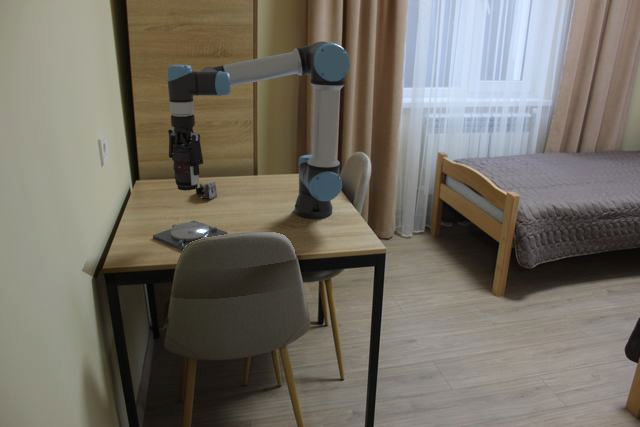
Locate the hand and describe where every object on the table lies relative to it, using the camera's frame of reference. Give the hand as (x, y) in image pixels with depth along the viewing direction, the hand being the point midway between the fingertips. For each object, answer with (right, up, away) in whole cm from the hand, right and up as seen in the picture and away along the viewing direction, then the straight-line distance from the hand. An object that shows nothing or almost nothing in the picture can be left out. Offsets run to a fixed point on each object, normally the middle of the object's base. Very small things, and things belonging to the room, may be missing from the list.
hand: (187, 181), depth 174 cm
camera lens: (0, -2, +1) cm, 3 cm away
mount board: (0, -19, +5) cm, 20 cm away
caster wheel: (-4, -4, +46) cm, 47 cm away
